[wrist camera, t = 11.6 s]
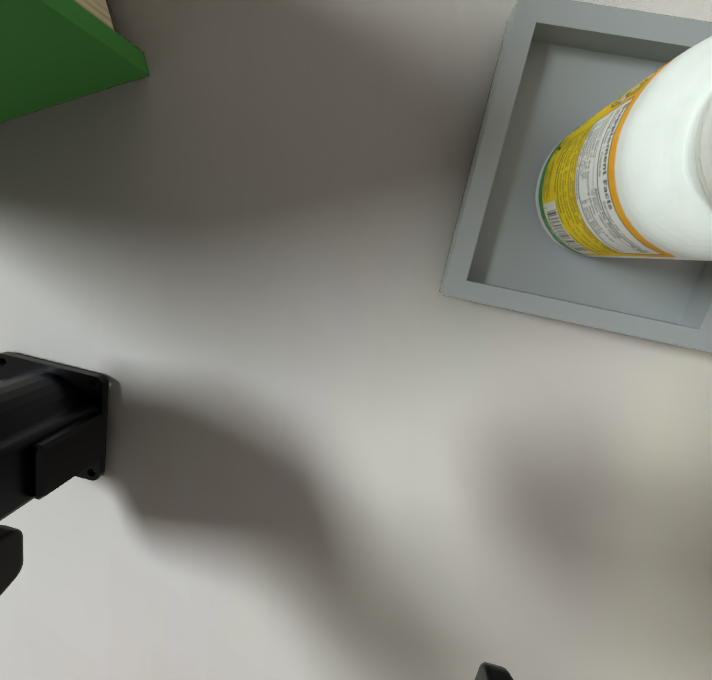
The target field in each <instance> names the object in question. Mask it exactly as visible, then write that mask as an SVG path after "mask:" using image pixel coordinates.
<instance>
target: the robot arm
mask: <svg viewBox="0 0 712 680" xmlns="http://www.w3.org/2000/svg"><path fill="white" fill-rule="evenodd" d="M96 382H97V383H98V385H99V386H97V384H96ZM107 403H108V381H107V379H106V378H105V377H104V376H103V375H101V374H98V373H94V372H89V371H85V370H81V369H77V368H73V367H69V366H65V365H61V364H57V363H53V362H49V361H45V360H41V359H37V358H32V357H28V356H24V355H20V354H16V353H12V352H3V353H0V521H1V520H2V519H4V518H5V517H7V516H8V515H10V514H11V513H13V512H14V511H16V510H17V509H19V508H20V507H22V506H23V505H25V504H26V503H28V502H29V501H31V500H32V499H34V498H35V499H41V498H43V497H45V496H46V495H48V494H49V493H50V492H52V491H53V490H55V489H56V488H58V487H59V486H61V485H62V484H64V483H65V482H67V481H68V480H70V479H71V478H72V477H74V476H77V477H81V478H84V479H88V480H97V479H98V478H100V477H101V476H102V475H103V474H104V471H105V451H106V428H107ZM93 470H94V471H95V472H94V471H93ZM22 565H23V534H22V532H21V531H20V530H19V529H16V528H12V527H9V526H5V525H0V595H1V594H2V593H3V592H4V591H5V590H6V589H7V587H8V586H9V585H10V584H11V583H12V582H13V581H14V579H15V578H16V577H17V575H18V574H19V572H20V570H21V568H22ZM475 680H513V678H512V676H511V675H510V673H509V672H508V671H507V670H506V669H505V668H503V667H501V666H498V665H494V664H491V663H487V662H484V663H482V664H481V665H480V667H479V670H478V673H477V675H476V678H475Z"/></svg>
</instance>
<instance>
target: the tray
mask: <svg viewBox="0 0 712 680" xmlns="http://www.w3.org/2000/svg"><path fill="white" fill-rule="evenodd" d="M711 36H712V22H707V21H701V20H695V19H688V18H682V17H675V16H669V15H662V14H656V13H649V12H643V11H636V10H630V9H623V8H617V7H610V6H604V5H597V4H591V3H584V2H578V1H571V0H517V2H516V4H515V6H514V8H513V11H512V13H511V15H510V17H509V20H508V22H507V26H506V30H505V34H504V38H503V42H502V46H501V49H500V53H499V57H498V61H497V65H496V69H495V73H494V77H493V81H492V85H491V89H490V93H489V97H488V101H487V105H486V108H485V112H484V116H483V120H482V124H481V128H480V132H479V136H478V140H477V144H476V148H475V152H474V156H473V160H472V163H471V167H470V171H469V175H468V179H467V183H466V187H465V191H464V195H463V199H462V203H461V207H460V211H459V215H458V218H457V222H456V226H455V230H454V234H453V238H452V242H451V246H450V250H449V254H448V258H447V262H446V266H445V270H444V274H443V277H442V281H441V285H440V289H439V291H440V293H441V294H442V295H444V296H449V297H453V298H458V299H463V300H467V301H472V302H477V303H481V304H486V305H491V306H495V307H500V308H505V309H509V310H514V311H519V312H523V313H528V314H533V315H537V316H542V317H547V318H551V319H556V320H560V321H565V322H570V323H574V324H579V325H584V326H588V327H593V328H598V329H602V330H607V331H612V332H616V333H621V334H626V335H630V336H635V337H640V338H644V339H649V340H654V341H658V342H663V343H668V344H672V345H677V346H682V347H686V348H691V349H696V350H700V351H705V352H710V353H712V261H701V260H675V259H650V258H614V257H589V256H583V255H578V254H575V253H573V252H570V251H568V250H566V249H564V248H562V247H561V246H559V245H558V244H557V243H556V242H554V241H553V240H552V239H551V238H550V236H549V235H548V234H547V233H546V231H545V230H544V228H543V226H542V224H541V222H540V219H539V217H538V213H537V209H536V201H535V194H536V186H537V181H538V177H539V174H540V171H541V168H542V166H543V164H544V162H545V160H546V159H547V157H548V155H549V154H550V153H551V151H552V150H553V149H554V148H555V147H556V145H557V144H558V143H559V142H560V141H561V140H563V139H564V138H565V137H566V136H567V135H569V134H570V133H571V132H573V131H574V130H575V129H576V128H577V127H579V126H580V125H582V124H583V123H584V122H586V121H587V120H588V119H590V118H591V117H593V116H594V115H596V114H597V113H598V112H600V111H601V110H603V109H604V108H605V107H607V106H608V105H610V104H611V103H612V102H614V101H615V100H616V99H618V98H619V97H621V96H622V95H624V94H625V93H626V92H628V91H629V90H631V89H632V88H634V87H635V86H636V85H638V84H639V83H640V82H642V81H643V80H645V79H646V78H647V77H649V76H650V75H651V74H653V73H654V72H655V71H657V70H658V69H660V68H661V67H663V66H664V65H666V64H667V63H668V62H670V61H671V60H673V59H674V58H675V57H677V56H679V55H680V54H682V53H683V52H685V51H686V50H688V49H689V48H691V47H693V46H695V45H696V44H698V43H700V42H702V41H703V40H705V39H707V38H709V37H711Z"/></svg>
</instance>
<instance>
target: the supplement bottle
mask: <svg viewBox="0 0 712 680" xmlns="http://www.w3.org/2000/svg"><path fill="white" fill-rule="evenodd" d="M535 201H536V209H537V213H538V217H539V219H540V222H541V224H542V226H543V228H544V230H545V231H546V233H547V234H548V235H549V236H550V238H551V239H552V240H553V241H554V242H556V243H557V244H558V245H559V246H561V247H562V248H564V249H566V250H568V251H570V252H573V253H575V254H578V255H583V256H589V257H614V258H650V259H675V260H701V261H712V36H711V37H709V38H707V39H705V40H703V41H702V42H700V43H698V44H696V45H695V46H693V47H691V48H689V49H688V50H686V51H685V52H683V53H682V54H680V55H679V56H677V57H675V58H674V59H673V60H671V61H670V62H668V63H667V64H666V65H664V66H663V67H661V68H660V69H658V70H657V71H655V72H654V73H653V74H651V75H650V76H649V77H647V78H646V79H645V80H643V81H642V82H640V83H639V84H638V85H636V86H635V87H634V88H632V89H631V90H629V91H628V92H626V93H625V94H624V95H622V96H621V97H619V98H618V99H616V100H615V101H614V102H612V103H611V104H610V105H608V106H607V107H605V108H604V109H603V110H601V111H600V112H598V113H597V114H596V115H594V116H593V117H591V118H590V119H588V120H587V121H586V122H584V123H583V124H582V125H580V126H579V127H577V128H576V129H575V130H574V131H573V132H571V133H570V134H569V135H567V136H566V137H565V138H564V139H563V140H561V141H560V142H559V143H558V144H557V145H556V147H555V148H554V149H553V150H552V151H551V153H550V154H549V155H548V157H547V159H546V160H545V162H544V164H543V166H542V168H541V171H540V174H539V177H538V181H537V186H536V194H535Z"/></svg>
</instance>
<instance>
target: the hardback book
mask: <svg viewBox="0 0 712 680" xmlns="http://www.w3.org/2000/svg"><path fill="white" fill-rule="evenodd" d="M148 75H149V71H148V68H147V64H146V60H145V57H144V53H143V52H142V51H140V50H139V49H138V48H136V47H135V46H134V45H133V44H131V43H130V42H129V41H127V40H126V39H125V38H123V37H122V36H121V35H119V34H118V33H117V32H115V31H114V28H113V24H112V21H111V17H110V14H109V10H108V7H107V3H106V0H0V122H3V121H6V120H10V119H13V118H16V117H19V116H22V115H25V114H28V113H32V112H35V111H38V110H41V109H44V108H47V107H51V106H54V105H57V104H60V103H63V102H66V101H69V100H73V99H76V98H79V97H82V96H85V95H88V94H92V93H95V92H98V91H101V90H104V89H107V88H110V87H114V86H117V85H120V84H123V83H126V82H129V81H133V80H136V79H139V78H142V77H145V76H148Z"/></svg>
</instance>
